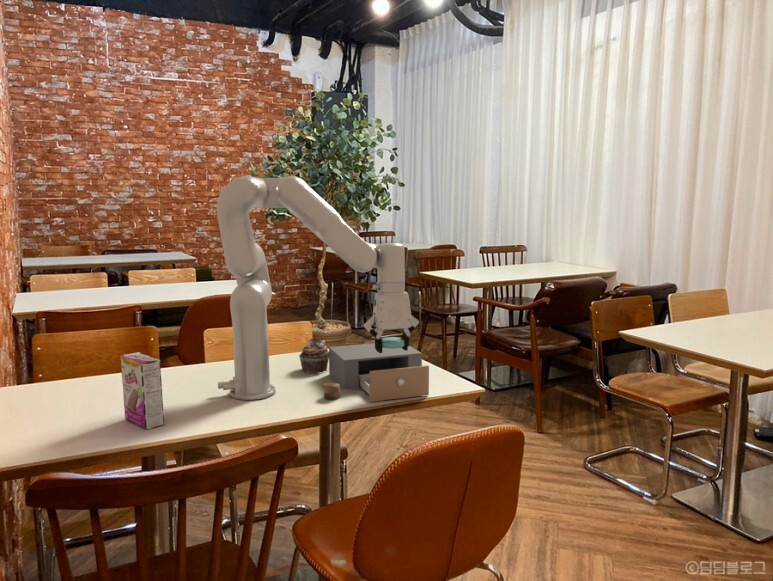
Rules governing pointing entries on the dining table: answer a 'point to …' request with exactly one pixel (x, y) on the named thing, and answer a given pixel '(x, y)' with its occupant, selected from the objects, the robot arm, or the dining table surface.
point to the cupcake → (314, 356)
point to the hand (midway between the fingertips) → (392, 350)
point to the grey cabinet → (367, 362)
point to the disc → (392, 342)
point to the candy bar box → (142, 390)
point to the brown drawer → (396, 383)
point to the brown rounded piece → (331, 391)
